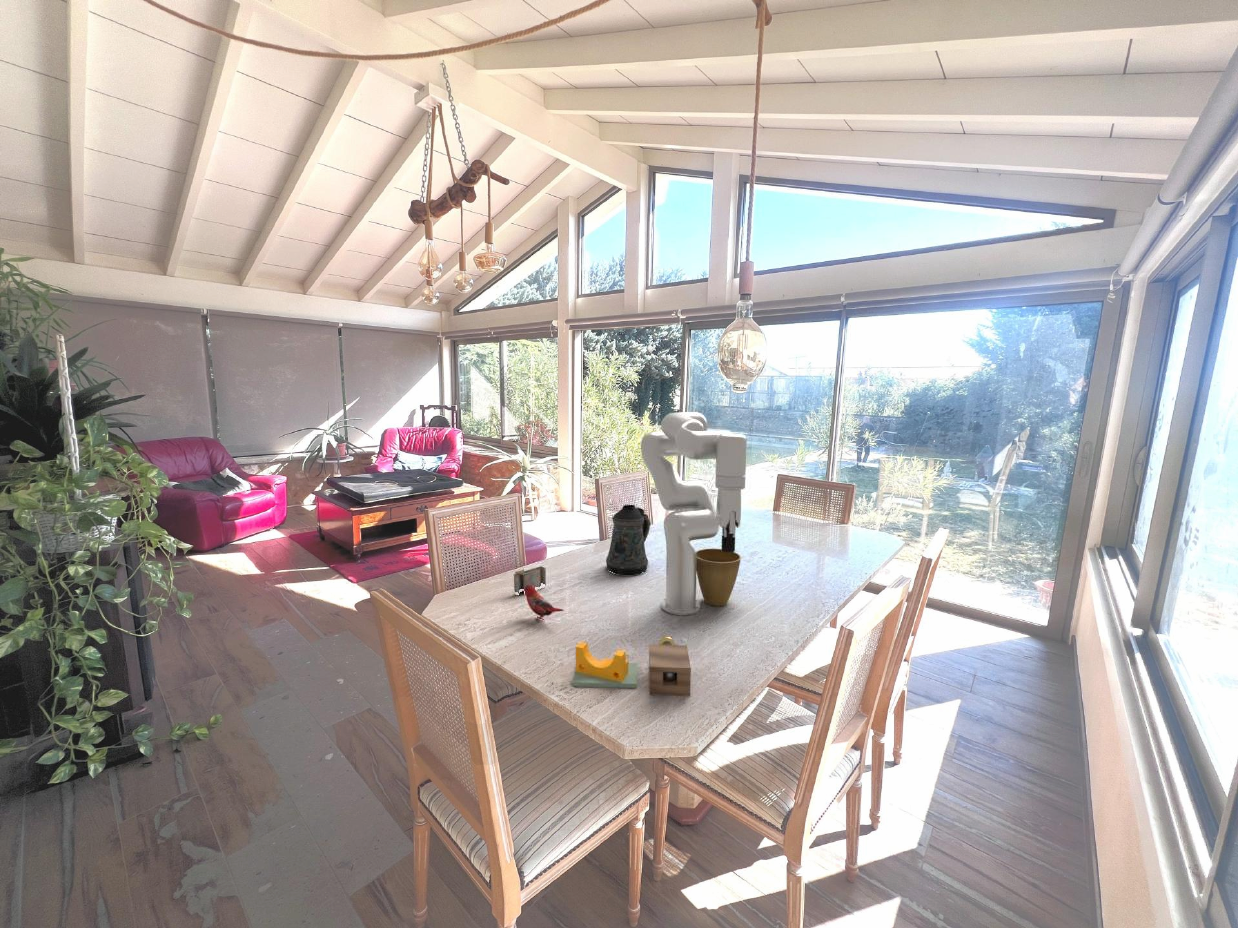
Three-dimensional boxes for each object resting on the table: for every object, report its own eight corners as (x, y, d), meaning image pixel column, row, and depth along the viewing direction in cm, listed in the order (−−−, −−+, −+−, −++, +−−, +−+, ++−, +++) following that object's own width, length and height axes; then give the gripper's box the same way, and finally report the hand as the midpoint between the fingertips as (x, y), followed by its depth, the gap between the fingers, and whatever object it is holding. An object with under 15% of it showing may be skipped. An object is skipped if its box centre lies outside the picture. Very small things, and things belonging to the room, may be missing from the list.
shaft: (658, 650, 127) (659, 635, 126) (674, 650, 127) (674, 635, 126) (660, 684, 112) (661, 668, 111) (678, 684, 112) (678, 668, 111)
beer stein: (600, 573, 187) (599, 509, 184) (615, 557, 205) (615, 499, 202) (642, 578, 182) (642, 512, 179) (654, 561, 201) (654, 501, 197)
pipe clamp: (628, 672, 119) (628, 647, 118) (621, 682, 115) (621, 656, 114) (583, 662, 123) (583, 638, 122) (575, 671, 119) (575, 646, 118)
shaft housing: (649, 670, 121) (649, 644, 120) (686, 671, 121) (686, 645, 120) (649, 694, 111) (649, 666, 110) (690, 695, 111) (690, 667, 110)
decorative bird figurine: (528, 611, 154) (527, 581, 153) (567, 628, 143) (567, 595, 142) (520, 614, 152) (520, 583, 151) (560, 632, 141) (560, 598, 139)
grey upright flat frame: (519, 598, 166) (518, 570, 164) (514, 595, 168) (513, 568, 166) (546, 588, 173) (546, 562, 172) (541, 586, 176) (541, 560, 174)
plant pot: (740, 613, 153) (742, 563, 151) (692, 609, 156) (693, 560, 154) (738, 594, 167) (740, 549, 165) (694, 590, 170) (695, 546, 168)
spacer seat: (577, 665, 124) (577, 661, 123) (637, 666, 123) (637, 662, 123) (572, 685, 115) (572, 682, 115) (636, 687, 114) (636, 683, 114)
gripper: (711, 476, 133) (709, 542, 136) (719, 487, 119) (717, 560, 121) (739, 477, 133) (737, 542, 136) (751, 487, 118) (748, 560, 121)
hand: (728, 550), depth 128 cm, fingers closed
